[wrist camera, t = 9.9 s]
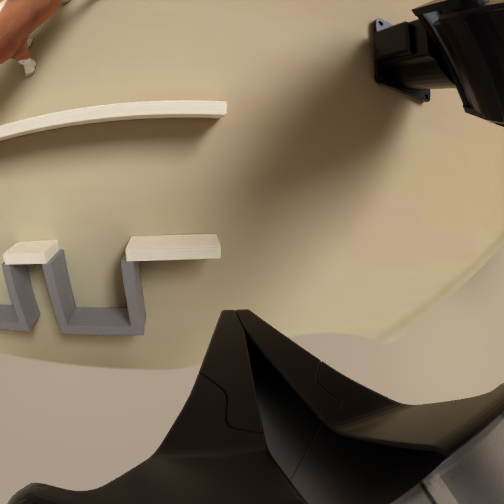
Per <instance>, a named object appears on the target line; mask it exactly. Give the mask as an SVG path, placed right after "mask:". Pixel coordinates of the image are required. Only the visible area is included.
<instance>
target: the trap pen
mask: <svg viewBox="0 0 504 504" xmlns="http://www.w3.org/2000/svg"><path fill="white" fill-rule="evenodd" d="M226 110H227V102H226V101H198V100H171V101H144V102H129V103H117V104H108V105H99V106H91V107H84V108H77V109H71V110H65V111H60V112H54V113H49V114H45V115H40V116H36V117H31V118H27V119H23V120H19V121H15V122H12V123H8V124H5V125H1V126H0V141H2V140H6V139H9V138H13V137H17V136H22V135H26V134H31V133H35V132H40V131H45V130H51V129H56V128H62V127H68V126H75V125H82V124H90V123H98V122H107V121H118V120H131V119H148V118H222V117H223V116H225V115H226ZM220 257H221V246H220V243H219V240H218V238H217V235H216V234H191V235H157V236H132V237H131V239H130V241H129V243H128V245H127V247H126V249H125V253H124V255H123V257H122V260H121V268H122V275H123V282H124V289H125V295H126V301H127V307H128V308H76V305H75V301H74V298H73V293H72V289H71V285H70V280H69V276H68V271H67V266H66V261H65V255H64V250H59V246H58V240H43V241H26V242H17V243H16V244H15V245H13V246H12V247H11V248H10V249H8V250H7V251H6V252H5V253H3V258H4V263H3V264H2V269H3V273H4V276H5V280H6V283H7V287H8V290H9V293H10V297H11V300H12V303H13V306H10V305H0V329H7V330H17V331H28V332H30V331H31V329H32V327H33V326H34V324H35V322H36V321H37V319H38V317H39V316H40V313H39V309H38V306H37V303H36V300H35V296H34V293H33V290H32V286H31V282H30V278H29V274H28V270H27V266H26V264H42V267H43V271H44V276H45V280H46V284H47V288H48V291H49V295H50V299H51V302H52V306H53V309H54V312H55V316H56V319H57V322H58V325H59V328H60V331H61V334H78V335H144V328H145V321H146V312H145V305H144V298H143V290H142V282H141V274H140V264H139V261H154V260H185V259H214V258H220Z"/></svg>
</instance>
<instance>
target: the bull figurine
mask: <svg viewBox="0 0 504 504" xmlns="http://www.w3.org/2000/svg"><path fill="white" fill-rule="evenodd" d="M69 1H70V0H0V64H2V63H4V62H5V61H7V60H8V59H10V58H12V59H15V60H17V61H18V63H20V64H23V65H24V68H25V76H26V77H30V76H32V75H33V73H34V72H35V68H34V67H35V66H36V62H35V60H34V59H30V53H29V50H28V48H29V47H30V46H31V41H32V40H33V37H32V34H30V33H32V32H33V31H34V30H35V29H36V28H37V27H38V26H40V25H41V24H42V23H43V22H44V21H45V20H47V19H48V18H49V17H50V16H51V15H52V14H53V13H54V12H55V11H56V9H57V8H58V7H59V6H60V4H66V3H68V2H69Z"/></svg>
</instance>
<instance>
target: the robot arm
mask: <svg viewBox="0 0 504 504" xmlns="http://www.w3.org/2000/svg"><path fill="white" fill-rule="evenodd" d="M412 11H413V13H414V14H415V16H417V17H418V18H419V19H418V20H414V21H411V22H402V23H399V24H396V25H392V24H390V23H388V22H386V21H384V20H382V19H376V20H374V57H375V80H376V82H377V83H378V84H380V85H383V86H386V87H389V88H391V89H394V90H397V91H399V92H402V93H404V94H407V95H409V96H412V97H414V98H416V99H419V100H421V101H423V102H429V101H430V89H442V88H457V90H458V93H459V95H460V98H461V100H462V102H463V108H464V110H465V112H466V113H469V114H472V115H474V116H477V117H480V118H482V119H485V120H487V121H490V122H492V123H495V124H497V125H500V126H503V127H504V0H434V1H431V2H429V3H426V4H424V5H422V6H419V7H417V8H415V9H412ZM379 23H380V24H379ZM380 77H381V78H382V81H381V79H380ZM8 504H504V383H503V384H501V385H499V386H498V387H497V388H496V389H494V390H493V391H491V392H489V393H486V394H483V395H480V396H476V397H471V398H466V399H461V400H454V401H448V402H440V403H432V404H423V405H407V404H401V403H398V402H396V401H394V400H391V399H389V398H387V397H385V396H383V395H381V394H379V393H377V392H375V391H373V390H371V389H369V388H367V387H365V386H363V385H361V384H359V383H357V382H355V381H353V380H351V379H350V378H348V377H346V376H344V375H343V374H341V373H340V372H338V371H336V370H334V369H333V368H332V367H330V366H328V365H327V364H326V363H324V362H321V361H320V360H319V359H318V358H316V357H315V356H313V355H312V354H311V353H309V352H308V351H306V350H305V349H303V348H302V347H300V346H299V345H297V344H296V343H295V342H293V341H292V340H290V339H289V338H287V337H286V336H285V335H283V334H282V333H280V332H279V331H278V330H276V329H275V328H273V327H272V326H271V325H269V324H268V323H266V322H265V321H264V320H262V319H261V318H259V317H258V316H257V315H255V314H254V313H253V312H251V311H250V310H248V309H243V310H236V311H235V310H223V311H222V312H221V314H220V317H219V320H218V322H217V325H216V328H215V330H214V333H213V336H212V338H211V341H210V344H209V347H208V349H207V352H206V355H205V357H204V360H203V363H202V366H201V368H200V371H199V374H198V376H197V379H196V381H195V384H194V387H193V389H192V391H191V394H190V396H189V398H188V400H187V401H186V403H185V405H184V407H183V409H182V411H181V412H180V414H179V416H178V417H177V419H176V421H175V422H174V424H173V425H172V427H171V429H170V430H169V432H168V434H167V436H166V437H165V439H164V440H163V442H162V443H161V445H160V446H159V448H158V449H157V450H156V452H155V453H154V454H153V455H152V456H151V457H150V458H148V459H147V460H146V461H144V462H142V463H141V464H139V465H138V466H136V467H135V468H133V469H131V470H130V471H128V472H126V473H125V474H123V475H121V476H120V477H118V478H116V479H115V480H113V481H111V482H110V483H108V484H106V485H104V486H102V487H99V488H97V489H93V490H88V491H72V490H66V489H62V488H58V487H54V486H50V485H47V484H41V483H31V484H29V485H27V486H26V487H24V488H23V489H21V490H19V491H18V492H17V493H16V494H15V495H13V496H12V498H11V499H10V500H9V502H8Z"/></svg>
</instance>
